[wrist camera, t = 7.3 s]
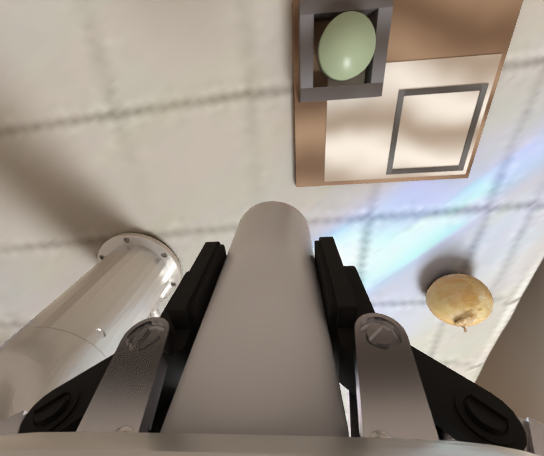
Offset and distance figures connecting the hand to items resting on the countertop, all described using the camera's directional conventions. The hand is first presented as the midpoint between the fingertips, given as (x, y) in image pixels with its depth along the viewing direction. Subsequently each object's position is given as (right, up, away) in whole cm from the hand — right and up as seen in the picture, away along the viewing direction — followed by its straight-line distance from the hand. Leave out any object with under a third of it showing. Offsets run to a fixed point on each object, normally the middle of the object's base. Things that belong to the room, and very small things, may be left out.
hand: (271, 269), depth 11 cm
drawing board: (+13, +16, +16) cm, 26 cm away
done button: (+7, +19, +12) cm, 23 cm away
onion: (+28, -7, +27) cm, 40 cm away
